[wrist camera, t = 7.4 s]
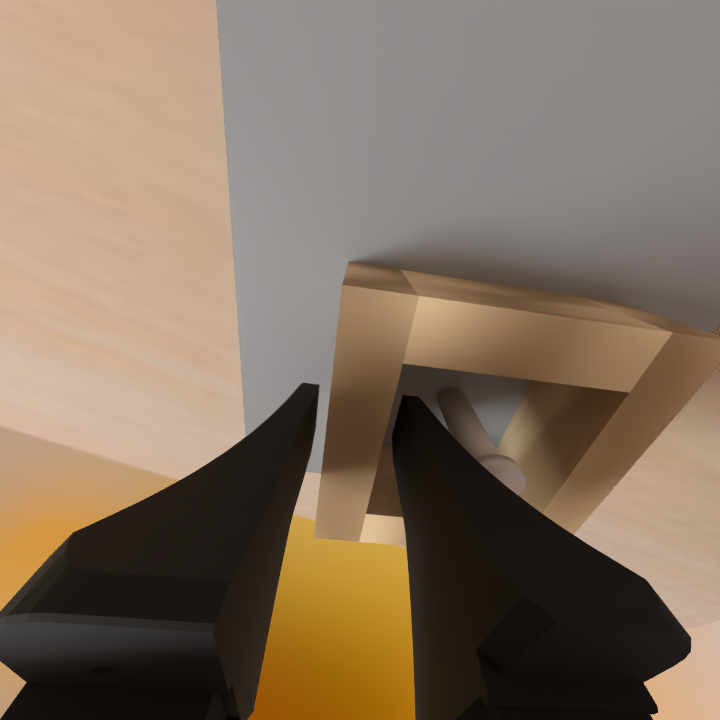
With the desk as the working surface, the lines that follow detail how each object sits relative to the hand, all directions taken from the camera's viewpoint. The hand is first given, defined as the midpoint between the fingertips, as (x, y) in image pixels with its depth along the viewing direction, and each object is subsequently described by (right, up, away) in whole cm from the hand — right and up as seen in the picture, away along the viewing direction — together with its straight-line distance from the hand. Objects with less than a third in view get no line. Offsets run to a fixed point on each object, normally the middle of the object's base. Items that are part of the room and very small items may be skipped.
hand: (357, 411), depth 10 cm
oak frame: (+4, 0, +2) cm, 4 cm away
